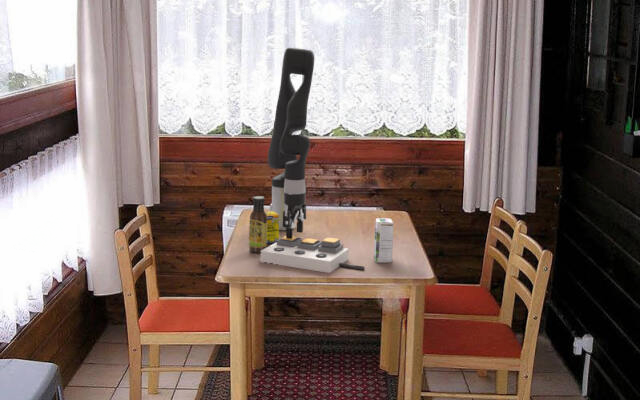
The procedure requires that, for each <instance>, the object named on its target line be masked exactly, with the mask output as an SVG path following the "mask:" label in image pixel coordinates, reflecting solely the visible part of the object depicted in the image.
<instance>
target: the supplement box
mask: <svg viewBox="0 0 640 400" xmlns="http://www.w3.org/2000/svg"><path fill="white" fill-rule="evenodd" d="M265 213H266V215H267V245H269V244H270V243H271V244H274V243H276V242H277V240H279V239H280V230H279V214H277V213H275V212H273V211H271V212H270V211H265ZM271 244H270V245H271Z"/></svg>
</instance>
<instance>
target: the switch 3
mask: <svg viewBox="0 0 640 400" xmlns="http://www.w3.org/2000/svg"><path fill="white" fill-rule="evenodd" d="M321 241H322V246H323V247H330V248H336V247H337V246H339V245H340V244H341V239H340V238H333V237H326V238H324V239H323V240H321Z"/></svg>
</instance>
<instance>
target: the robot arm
mask: <svg viewBox="0 0 640 400" xmlns="http://www.w3.org/2000/svg"><path fill="white" fill-rule="evenodd" d="M314 53H315V52H314V51H313V50H311V49H307V48H300V47H287V48H285V49H284V52H283V57H282V66H281V77H280V85H279V92H278V98H277V102H276V103H277V104H276V107H275V108H276V109H275V116H274V123H273V130H272V134H271V135H272V136H271V139H270V143H269V147H268V152H267V164H268V167H270V169H274V170H282V169H284V170H283V172H282V173H280V174H278V175H276V176H274V177H272V179H271V203H270V204H269V212H271V211H273V212H275V213H277V214H279V231H285V236H286V238H292V237H293V234H294V233H293V230H294V229H295V228H296V232H297V233H300V234H301V233H303V232H304V222H305V220H306V219H307V204H306V179H305V178H306V162H307V158H308V155H309V151H310V149H311V140H310V138H309V136H307V135H306V134H293V133H295V132H298V131H299V132H300V131H302V130H305V128H306V127H307V115H308V103H309V99H310V92H311V88H312V81H313V75H314V68H315V67H314V66H315V54H314ZM291 75H300V76H303V78H302V82H301V84H300V86H299V87H298V89H296V90H295V87H294V84H293V82H292V78H291ZM298 156H299V158H298Z"/></svg>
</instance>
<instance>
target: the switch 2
mask: <svg viewBox="0 0 640 400" xmlns="http://www.w3.org/2000/svg"><path fill="white" fill-rule="evenodd" d="M304 239H305V240H304ZM304 239H302V241H301V244H306V245H313V246H314V245H316V244H317V243H319V241H320V240H319V239H314V238H309V237H308V238H304Z"/></svg>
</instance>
